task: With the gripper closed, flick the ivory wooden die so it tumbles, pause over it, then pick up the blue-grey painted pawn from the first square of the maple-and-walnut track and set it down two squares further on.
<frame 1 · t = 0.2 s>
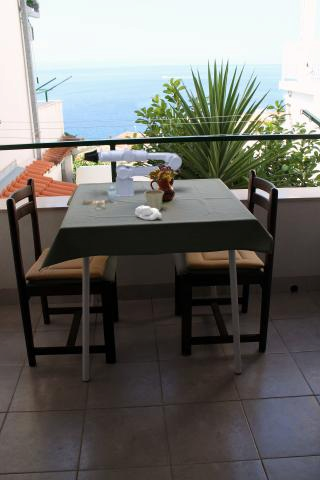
hand: (84, 156, 257), 21 cm above the table, tool horizontal, fingers open, 7 cm apart
flower pot: (154, 209, 241), on the table
die: (100, 209, 243), on the table
track: (99, 203, 253), on the table
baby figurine: (148, 218, 229), on the table
pawn: (112, 201, 253), resting on track
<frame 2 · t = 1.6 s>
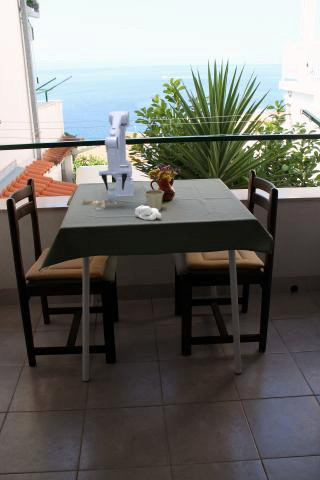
hand: (115, 189, 241), 9 cm above the table, tool pointing down, fingers open, 7 cm apart
nothing on the table moved.
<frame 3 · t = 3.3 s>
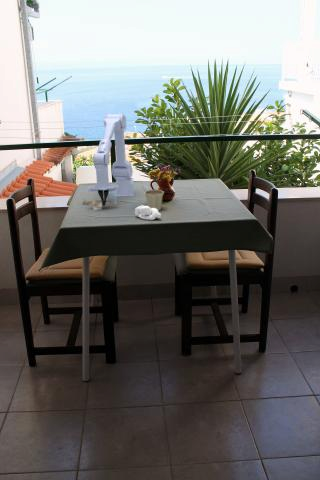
hand: (104, 205, 243), 2 cm above the table, tool pointing down, fingers closed
die: (97, 209, 243), on the table, touching gripper
everything else where it was.
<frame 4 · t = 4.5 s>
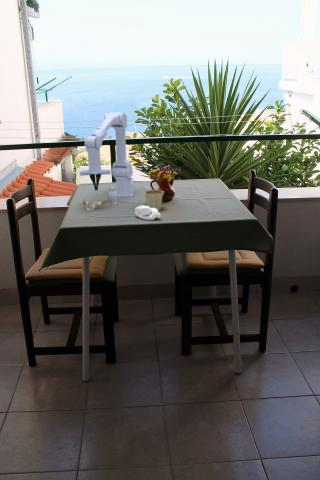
hand: (96, 189, 240), 10 cm above the table, tool pointing down, fingers closed
die: (91, 209, 243), on the table
everything else where it was.
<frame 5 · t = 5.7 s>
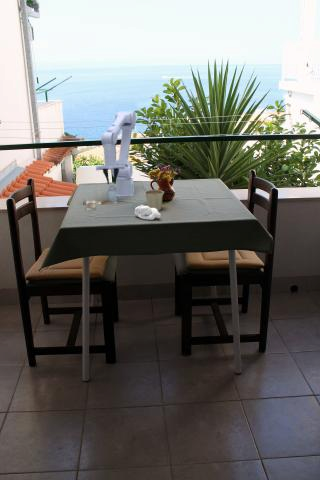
hand: (111, 183, 250), 10 cm above the table, tool pointing down, fingers open, 3 cm apart
nothing on the table moved.
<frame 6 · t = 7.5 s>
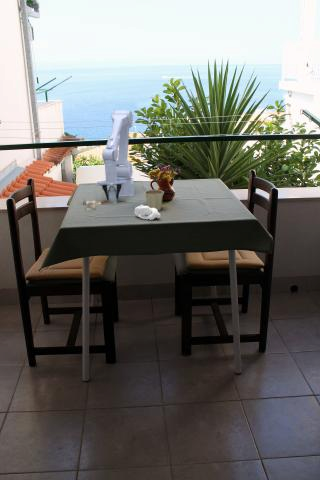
hand: (112, 199, 253), 2 cm above the table, tool pointing down, fingers closed on pawn, 4 cm apart
pawn: (112, 201, 253), resting on track, touching gripper
everything else where it was.
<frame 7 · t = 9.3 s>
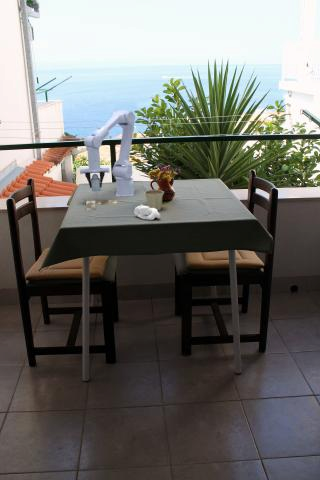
hand: (95, 187, 250), 8 cm above the table, tool pointing down, fingers closed on pawn, 4 cm apart
pawn: (96, 190, 250), point 7 cm above the table, touching gripper
everything else where it was.
when the fingers open (3 cm above the table, at t = 10.7 s): pawn stays where it is, resting on track.
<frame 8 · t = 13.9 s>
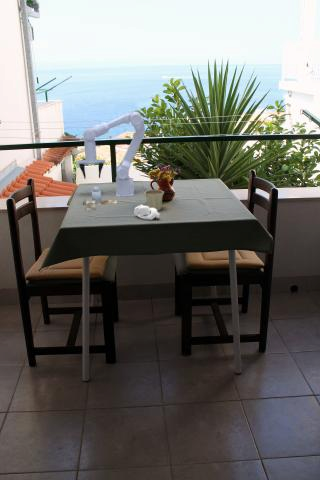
hand: (92, 177, 263), 10 cm above the table, tool pointing down, fingers open, 7 cm apart
pawn: (96, 202, 253), resting on track
everything else where it was.
at the end: pawn 0.1 cm from the target spot, resting on track; pawn tilted 0°; die moved 4.7 cm from its start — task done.
